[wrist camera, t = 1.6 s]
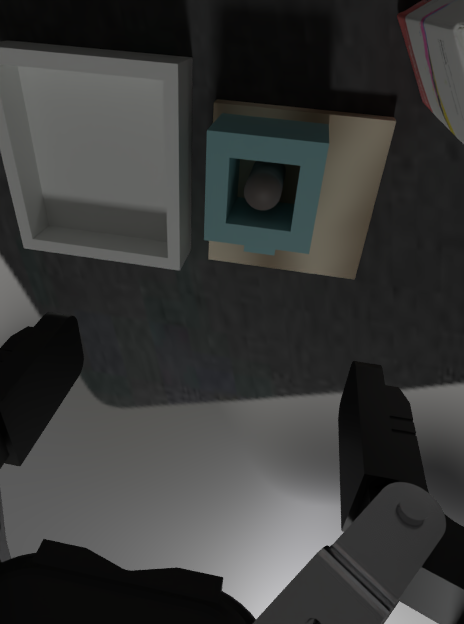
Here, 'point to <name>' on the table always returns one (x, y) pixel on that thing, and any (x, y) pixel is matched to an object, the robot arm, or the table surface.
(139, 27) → the table surface
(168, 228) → the tray
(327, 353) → the table surface
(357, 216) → the peg board
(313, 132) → the teal hollow block
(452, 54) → the ink cartridge box
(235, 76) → the table surface
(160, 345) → the table surface
